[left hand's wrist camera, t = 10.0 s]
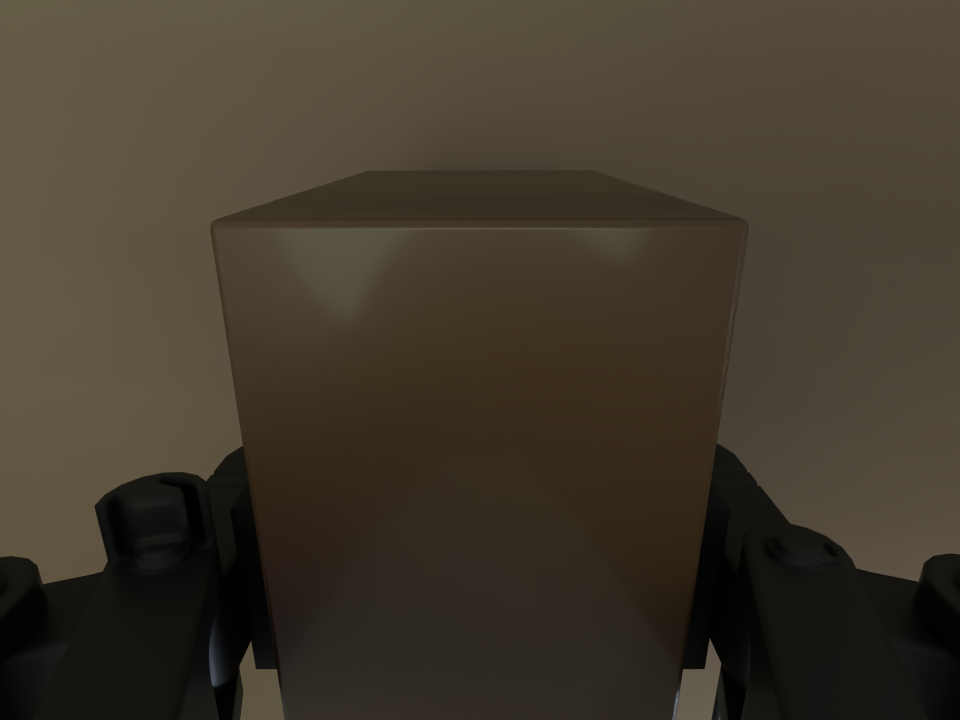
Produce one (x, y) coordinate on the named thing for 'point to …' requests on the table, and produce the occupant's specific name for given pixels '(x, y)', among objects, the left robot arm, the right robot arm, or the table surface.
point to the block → (479, 437)
